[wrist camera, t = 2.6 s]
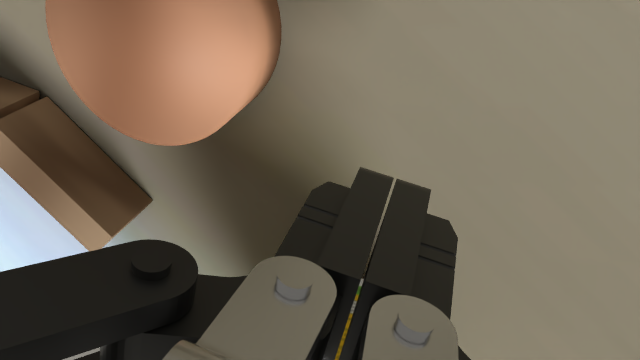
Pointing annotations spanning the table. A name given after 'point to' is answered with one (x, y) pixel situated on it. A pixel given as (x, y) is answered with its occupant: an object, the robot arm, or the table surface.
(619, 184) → the table surface
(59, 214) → the dock
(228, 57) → the salmon orange rounded piece
